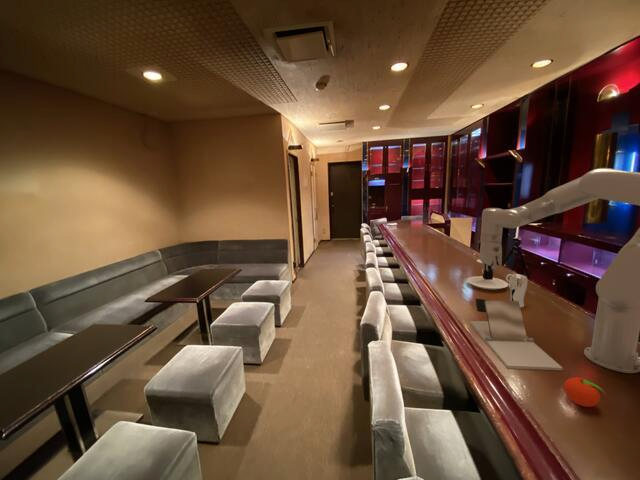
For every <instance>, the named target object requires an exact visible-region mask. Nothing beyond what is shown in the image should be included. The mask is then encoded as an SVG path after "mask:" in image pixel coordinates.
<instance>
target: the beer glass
mask: <svg viewBox="0 0 640 480" xmlns="http://www.w3.org/2000/svg"><path fill="white" fill-rule="evenodd" d="M511 274H512V275H510V276H509V283H508V284H509V285H508V287H509V301H519V305H520V309H522V308H524V307H525V303H524V299H525V296H526V292H527V288H528V277H527V276H526V275H524V274H519V273H518V274H517V273H511Z"/></svg>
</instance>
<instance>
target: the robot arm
mask: <svg viewBox="0 0 640 480" xmlns="http://www.w3.org/2000/svg"><path fill="white" fill-rule="evenodd" d="M599 199H601V200H604V201H605V200H606V201H610V202H615V203H616V202H617V203H623V204H628V205H635V206H640V171H639V172H638V171H629V170H621V169H614V168H612V167H611V168H610V167H600V168H599V167H598V168H595V169H592V170H590V171H587V172H586V173H585V174H583V175H581V177H578V178H575V179H572V180H571V181H569V182H567V183H564V184H562V185H559V186H557V187H555V188H552V189H550V190H549V191H547V192H546V193H545V194H544V195H542V196H541V197H538V198H536V199H535V200H532V201H530V202H528V203H525V204H524V205H520V206H518V207H513V208H509V209H508V208H507V209H504V208H503V209H502V208H499V207H487V208H484V209H483V210H482V213H481V225H480V226H481V227H480V238H479V239H480V248H479V253H478V254H479V255H478V256H479V257H478V258H479V259H480V260H481V261H482V263H481V264H482V265H483V266H482V269H484V270H483V273H482V276H483V278H484V279H485V280H492V279H493V278H494V271H495V270H497V266H498V267H499V266H502V260H503V247H502V239H503V229H504V228H505V229H517V228H520V227H522V226H525V225H528V224H531V223H533V222H536V221H538V220H542V219H544V218H546V217H550V216H552V215H555V214H561V213H564V212H566V211H569V210H571V209H575V208H576V207H580V206H583V205H585V204H588V203H591V202H593V201H595V200H596V201H597V200H599ZM595 292H596V294H597V296H598V300H597V308H596V313H595V320H594V327H593V332H592V333H593V335H592V340H591V346H588V347H586V348H584V351H583V355H584V356H585V357H586V358H587V359H588V360H589V361H590V362H592V363H594V364H596V365H597V366H600V367H603V368H604V369H605V368H606V369H608V370H611V371H615V372H620V373H623V374H624V373H625V374H636V373H639V372H640V356H639V352H638V351H637V347H638V342H639V335H640V227H639V228H638V229H637V231H636V232H635V233H634V235H633V236H632V237H631V238H630V240H629V241H628V242H627V243H625V244H624V246H622V248H620V250H619V251H618V253H617V254H616V255H615V257H614V258H613V260H612V261H611V263H610V264H609V265H608V267H607V268H606V270H605V271H604V273H603V274H602V275H601V277H600V278H599V280H598V281H597V282H596V285H595Z"/></svg>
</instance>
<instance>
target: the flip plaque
mask: <svg viewBox="0 0 640 480" xmlns="http://www.w3.org/2000/svg"><path fill="white" fill-rule="evenodd" d="M484 303H485V308H486V312H485V313H486V319H487V320H486V321H488V325H489V331H490V336H491V338H512V339H527V337H528V336H527V331H526V328H525V323H524V319H523V314H522V310H521V309H522V308H520V305H519V301H510V300H490V301H484Z"/></svg>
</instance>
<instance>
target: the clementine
mask: <svg viewBox="0 0 640 480" xmlns="http://www.w3.org/2000/svg"><path fill="white" fill-rule="evenodd" d="M563 390H564V392H565V394H566V396H567V397H568V398H569V400H570V401H572V402H573V403H575V404H577V405H579V406H582V407H586V408H591V407H596V405H598V403H600V400H601V395H600V394H601V393H600V392H599V390H600V391H601V392H603V393H604V395H605V396H607V394H606V393H605V391H604V389H602V388H601V387H600V386H598V385H597V384H595V383H593V382H591V381H589V380H587V379H586V378H583V377H576V376H575V377H570V378H567V379H566V380H565V382H564V384H563Z"/></svg>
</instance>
